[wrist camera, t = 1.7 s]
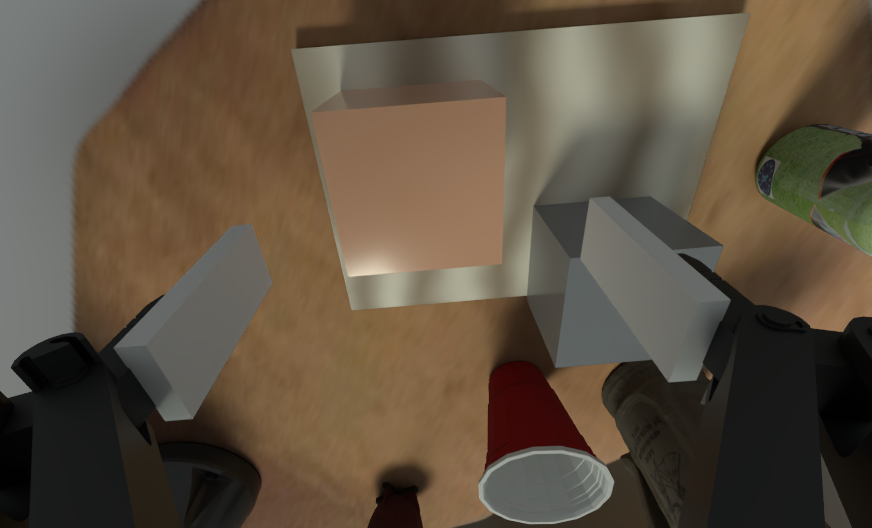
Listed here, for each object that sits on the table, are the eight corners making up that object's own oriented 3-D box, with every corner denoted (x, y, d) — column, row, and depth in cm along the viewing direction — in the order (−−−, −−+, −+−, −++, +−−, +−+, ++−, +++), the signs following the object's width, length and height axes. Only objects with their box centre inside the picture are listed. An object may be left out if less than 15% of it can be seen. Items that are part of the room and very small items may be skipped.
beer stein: (620, 342, 38) (772, 598, 22) (720, 344, 39) (937, 592, 23) (577, 428, 47) (662, 656, 31) (659, 428, 48) (784, 651, 31)
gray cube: (526, 300, 33) (555, 367, 27) (533, 205, 29) (570, 258, 22) (627, 291, 33) (681, 357, 27) (650, 196, 29) (723, 245, 22)
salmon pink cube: (363, 219, 29) (347, 276, 22) (340, 91, 24) (310, 112, 17) (481, 210, 29) (502, 264, 22) (480, 79, 24) (506, 96, 17)
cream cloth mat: (353, 302, 34) (351, 310, 33) (296, 48, 24) (290, 49, 23) (660, 276, 34) (667, 284, 33) (736, 13, 24) (750, 12, 23)
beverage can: (810, 195, 31) (1007, 274, 20) (720, 203, 31) (873, 286, 20) (848, 114, 28) (1105, 160, 17) (748, 122, 27) (946, 173, 17)
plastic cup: (470, 339, 37) (491, 454, 27) (575, 344, 38) (634, 456, 28) (456, 411, 43) (470, 529, 32) (549, 413, 44) (590, 529, 33)
